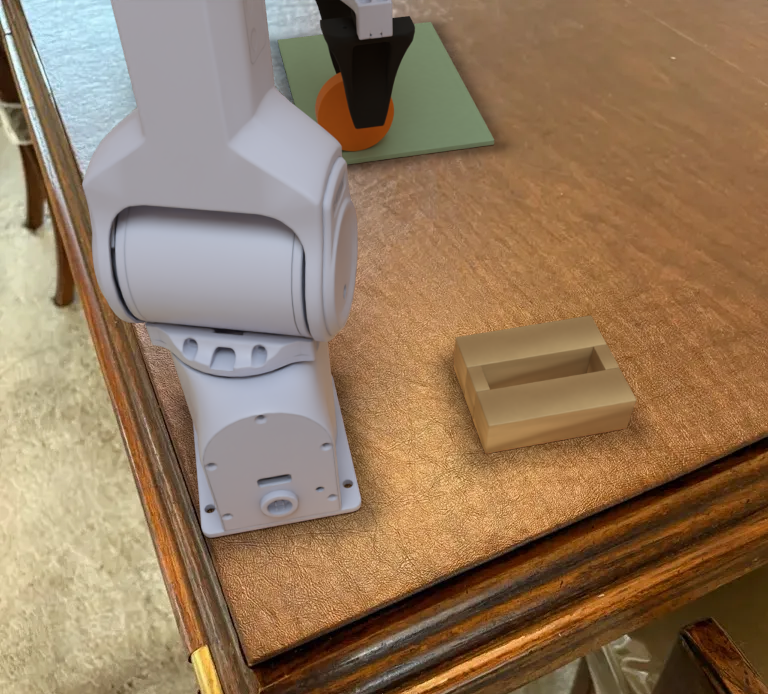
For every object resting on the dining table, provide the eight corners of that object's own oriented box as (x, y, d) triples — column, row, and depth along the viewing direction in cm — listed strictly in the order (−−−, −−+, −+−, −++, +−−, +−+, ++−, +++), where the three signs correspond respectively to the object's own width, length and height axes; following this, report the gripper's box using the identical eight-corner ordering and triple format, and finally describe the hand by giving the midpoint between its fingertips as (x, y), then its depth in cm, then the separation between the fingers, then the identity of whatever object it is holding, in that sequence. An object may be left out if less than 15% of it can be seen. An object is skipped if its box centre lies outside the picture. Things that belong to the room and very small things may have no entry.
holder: (627, 429, 43) (637, 399, 41) (484, 454, 42) (488, 425, 40) (583, 344, 47) (591, 314, 45) (452, 366, 46) (455, 336, 44)
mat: (494, 144, 60) (494, 140, 60) (311, 169, 58) (311, 164, 58) (430, 26, 72) (430, 21, 72) (278, 44, 70) (277, 39, 70)
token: (399, 139, 59) (387, 67, 55) (327, 160, 59) (308, 89, 55) (396, 131, 60) (383, 59, 55) (325, 151, 60) (306, 81, 55)
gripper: (447, -93, 42) (438, 144, 52) (389, -175, 50) (392, 42, 61) (315, -80, 41) (333, 158, 52) (279, -166, 50) (301, 53, 60)
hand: (358, 96), depth 56 cm, fingers open, 7 cm apart
